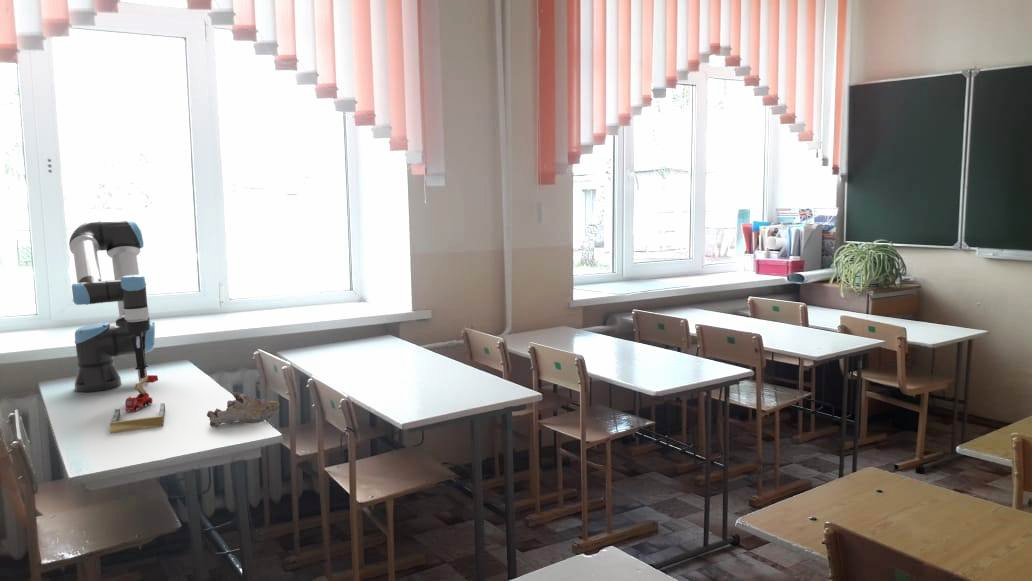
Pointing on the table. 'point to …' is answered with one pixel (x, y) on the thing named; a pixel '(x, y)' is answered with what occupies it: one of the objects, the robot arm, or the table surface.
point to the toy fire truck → (140, 395)
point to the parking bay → (136, 421)
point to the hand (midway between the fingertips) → (143, 386)
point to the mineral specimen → (244, 410)
